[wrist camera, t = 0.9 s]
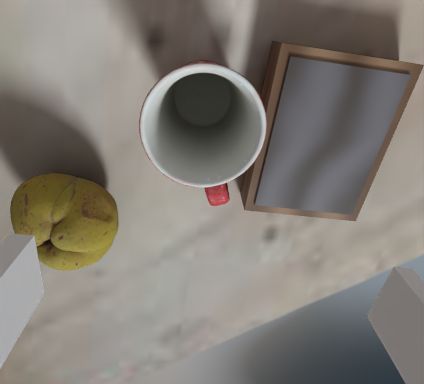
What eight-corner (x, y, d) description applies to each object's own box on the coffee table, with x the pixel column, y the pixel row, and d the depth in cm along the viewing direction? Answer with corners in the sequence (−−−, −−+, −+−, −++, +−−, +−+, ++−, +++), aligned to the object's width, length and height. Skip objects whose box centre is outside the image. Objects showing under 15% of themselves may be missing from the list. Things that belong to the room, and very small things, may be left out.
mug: (151, 57, 31) (122, 75, 19) (238, 43, 31) (263, 52, 19) (176, 167, 37) (165, 233, 25) (249, 156, 37) (272, 217, 25)
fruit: (111, 148, 36) (82, 187, 27) (138, 228, 41) (122, 282, 33) (21, 163, 36) (-36, 206, 27) (60, 240, 42) (23, 296, 33)
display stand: (240, 193, 39) (244, 211, 36) (272, 41, 31) (282, 42, 27) (342, 204, 41) (356, 222, 37) (399, 61, 32) (426, 65, 28)
